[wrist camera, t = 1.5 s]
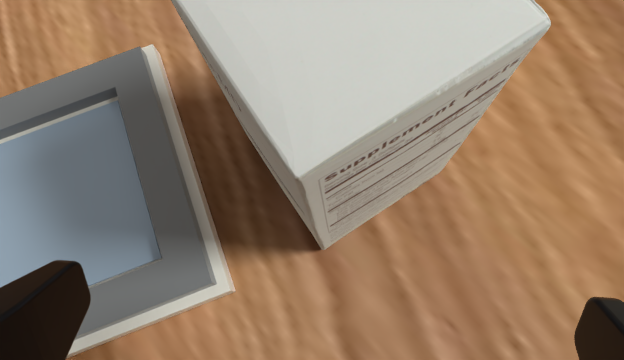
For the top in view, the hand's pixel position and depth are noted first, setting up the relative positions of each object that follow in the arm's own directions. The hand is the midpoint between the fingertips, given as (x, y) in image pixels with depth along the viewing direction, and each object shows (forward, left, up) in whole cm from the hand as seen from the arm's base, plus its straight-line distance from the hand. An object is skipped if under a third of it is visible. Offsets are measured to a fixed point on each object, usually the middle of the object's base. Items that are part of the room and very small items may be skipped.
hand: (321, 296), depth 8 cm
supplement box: (+6, +5, -14) cm, 16 cm away
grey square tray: (-6, +13, -13) cm, 20 cm away
